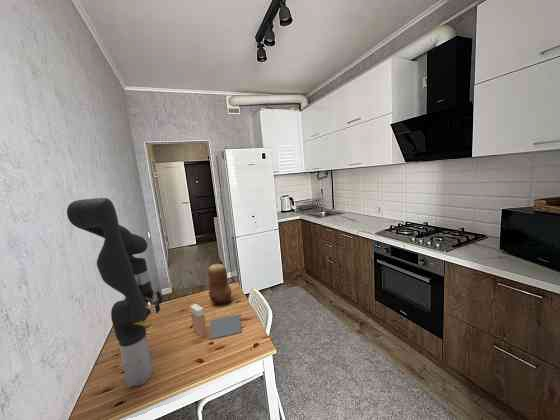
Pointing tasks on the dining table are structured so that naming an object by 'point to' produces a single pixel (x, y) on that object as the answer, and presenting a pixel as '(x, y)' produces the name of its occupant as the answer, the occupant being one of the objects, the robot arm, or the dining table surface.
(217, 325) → the mat
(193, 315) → the block
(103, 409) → the dining table surface
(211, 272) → the butternut squash
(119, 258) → the robot arm
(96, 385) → the dining table surface
